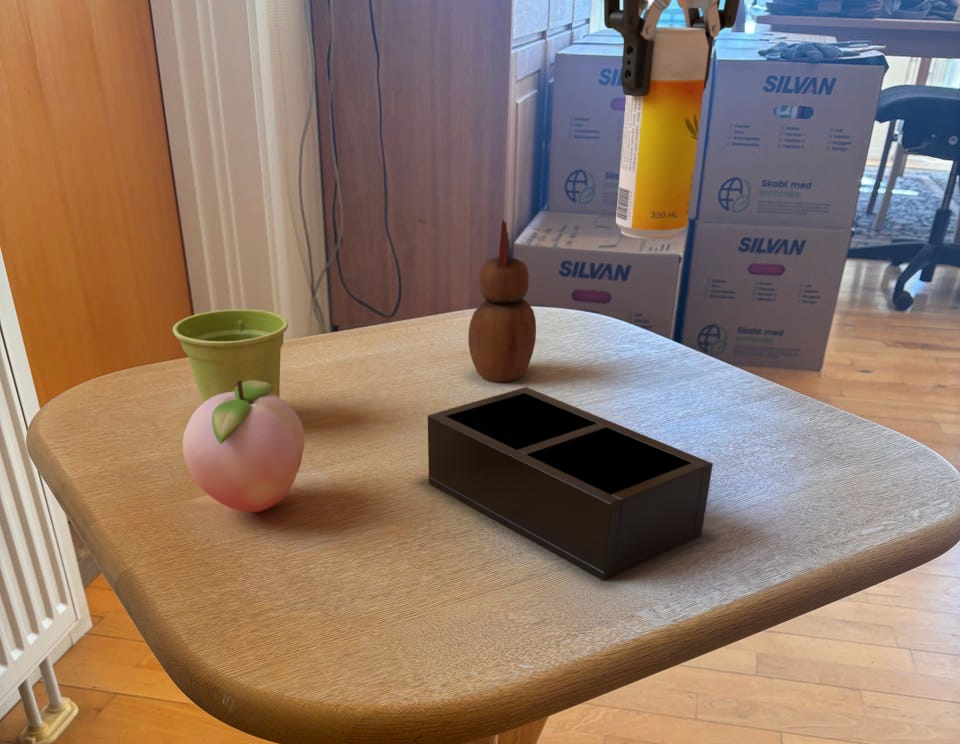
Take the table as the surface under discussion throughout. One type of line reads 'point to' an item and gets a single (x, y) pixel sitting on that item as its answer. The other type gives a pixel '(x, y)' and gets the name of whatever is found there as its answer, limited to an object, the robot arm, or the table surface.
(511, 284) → the wooden figurine
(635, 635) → the table surface
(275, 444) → the decorative fruit
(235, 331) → the plant pot
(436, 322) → the table surface
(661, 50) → the beer can
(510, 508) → the divided box
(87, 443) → the table surface
